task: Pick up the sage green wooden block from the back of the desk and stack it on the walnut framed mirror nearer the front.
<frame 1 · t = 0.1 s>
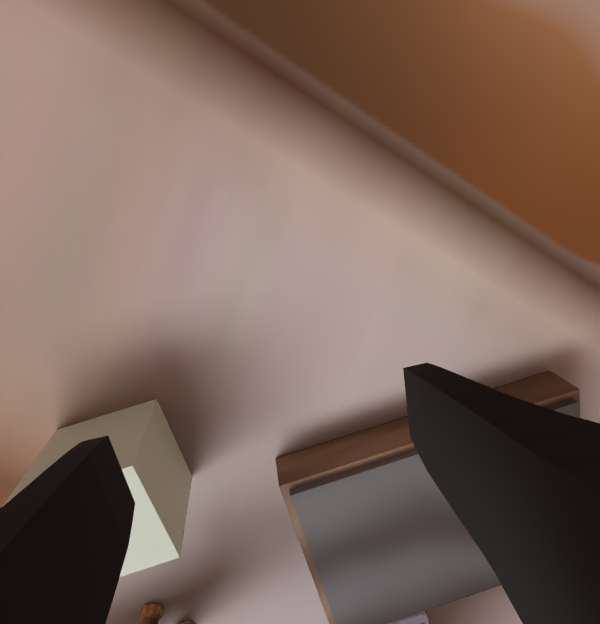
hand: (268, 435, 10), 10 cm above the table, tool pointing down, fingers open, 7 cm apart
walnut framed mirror: (431, 495, 25), on the table
sage block: (128, 453, 21), on the table
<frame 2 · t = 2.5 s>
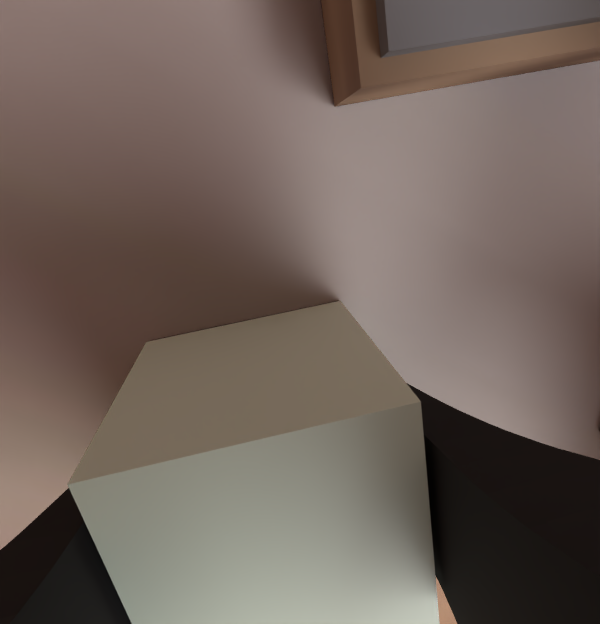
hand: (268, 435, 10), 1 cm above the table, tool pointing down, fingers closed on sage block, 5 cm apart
sage block: (264, 404, 11), on the table, touching gripper
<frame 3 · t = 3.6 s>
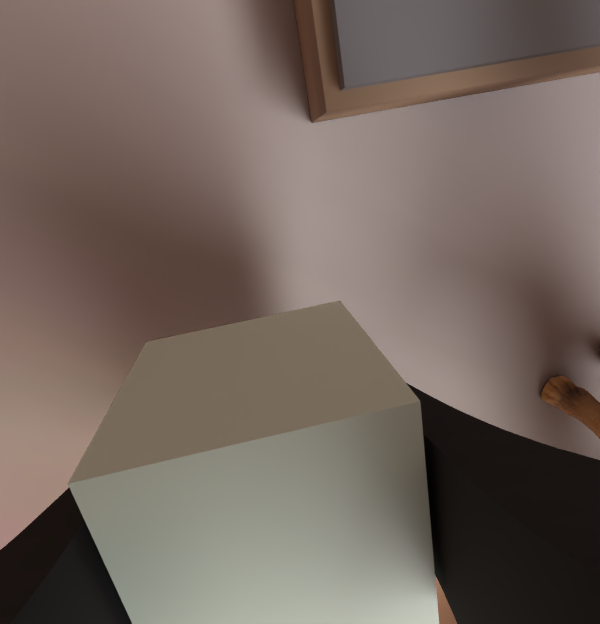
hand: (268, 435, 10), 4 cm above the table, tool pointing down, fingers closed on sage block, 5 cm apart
lion figurine: (579, 424, 17), on the table
sage block: (264, 404, 11), point 3 cm above the table, touching gripper
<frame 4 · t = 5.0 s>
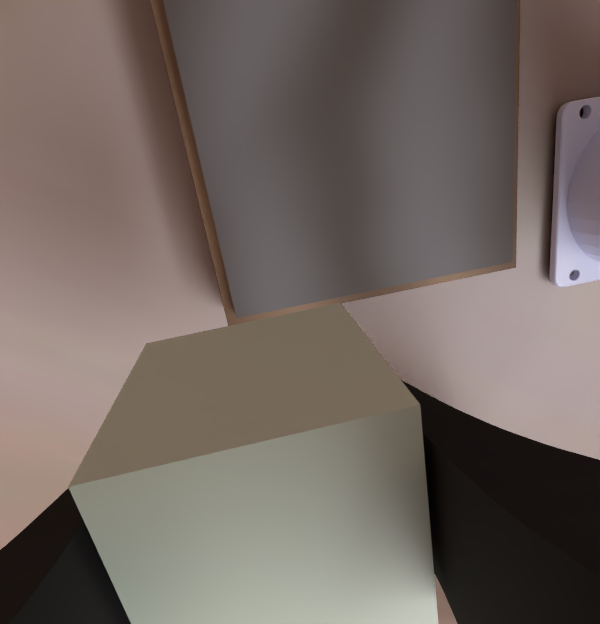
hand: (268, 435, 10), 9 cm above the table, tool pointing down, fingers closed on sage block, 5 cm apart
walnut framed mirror: (338, 84, 16), on the table
sage block: (264, 406, 11), point 7 cm above the table, touching gripper
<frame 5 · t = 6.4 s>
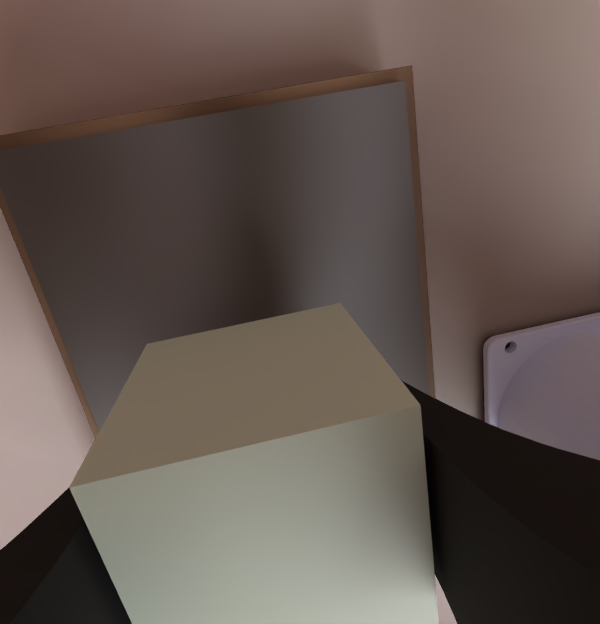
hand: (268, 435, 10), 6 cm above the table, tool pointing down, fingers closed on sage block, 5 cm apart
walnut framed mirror: (258, 338, 16), on the table
sage block: (264, 406, 11), point 5 cm above the table, touching gripper
when the fingers open (5 cm above the table, at t = 7.6 s): sage block stays where it is, resting on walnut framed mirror.
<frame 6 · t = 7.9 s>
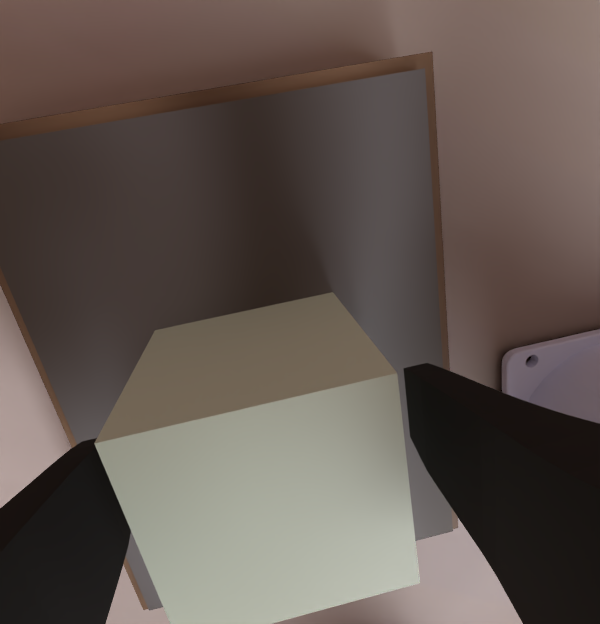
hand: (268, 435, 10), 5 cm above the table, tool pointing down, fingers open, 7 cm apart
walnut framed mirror: (258, 352, 15), on the table
sage block: (263, 388, 12), point 2 cm above the table, touching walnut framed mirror
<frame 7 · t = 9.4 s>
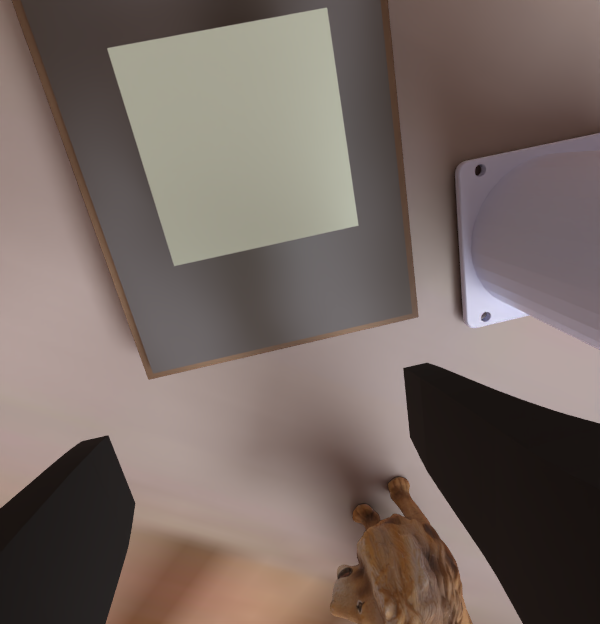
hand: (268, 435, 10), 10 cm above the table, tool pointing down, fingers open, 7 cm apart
lion figurine: (388, 529, 25), on the table
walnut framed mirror: (243, 155, 17), on the table
sage block: (244, 154, 15), point 2 cm above the table, touching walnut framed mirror
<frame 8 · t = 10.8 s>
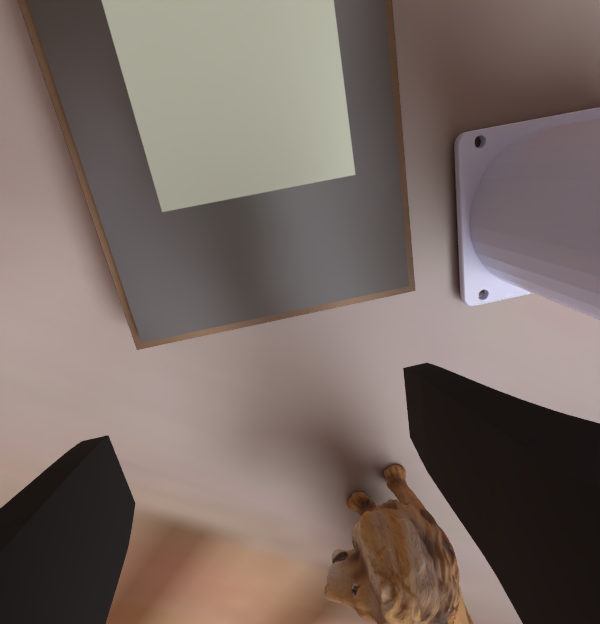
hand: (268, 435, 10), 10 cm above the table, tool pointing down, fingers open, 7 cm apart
lion figurine: (383, 518, 25), on the table
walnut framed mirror: (237, 120, 17), on the table
sage block: (238, 113, 14), point 2 cm above the table, touching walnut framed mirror
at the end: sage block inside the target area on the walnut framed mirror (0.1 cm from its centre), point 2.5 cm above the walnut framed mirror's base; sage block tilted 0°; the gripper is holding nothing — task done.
